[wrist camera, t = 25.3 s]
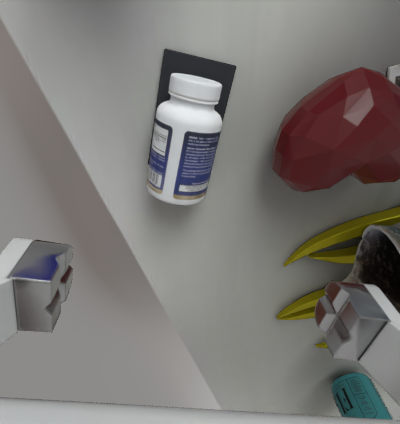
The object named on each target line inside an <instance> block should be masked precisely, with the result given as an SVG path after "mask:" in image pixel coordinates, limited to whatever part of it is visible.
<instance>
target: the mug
mask: <svg viewBox="0 0 400 424" xmlns="http://www.w3.org/2000/svg"><path fill="white" fill-rule="evenodd" d="M342 282H350V283H357V284H360V283H361V284H370V285H375V286H377V287H378V288H380V290H381V291H382V292H383V294H384V295H385V296H386V297H387V299H388V300H389V301H390V302H391V304H392V305H393V306H394V307H395V309H396V310H397V311H398V313H399V314H400V223H396V224H394V225H392V226H385V225H376V224H372V225H369V226H368V227H367V228H366V229H365V231H364V232H363V234H362V240H361V241H360V244H359V246H358V249H357V253H356V257H355V263H354V267H353V269H352V272H351V273H350V274H349V275H348V277H347V278H346V279H345V280H343V281H342Z"/></svg>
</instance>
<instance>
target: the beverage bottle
mask: <svg viewBox="0 0 400 424" xmlns="http://www.w3.org/2000/svg"><path fill="white" fill-rule="evenodd" d="M373 384H374V383H372V382H371V379H369V378H368V377H367V376H366V375H365V374H362V373H350V374H346V375H343V376H341V377H339V378H338V379H336V380H335V381H334V382H333V384H332V386H331V389H332V393H333V396H334V400H335V401H336V402H335V403H336V404H337V407H338V408H339V410H340V411H339V412H341V414H342V416H341V417H353V418H370V419H388V420H394V419H393V418H392V417H391V416H392V415H391V416H390V414H389V413H390V411H389V412H388V410H387V407H385V405H384V404H385V403H383V401H382V400H383V399H381V398H380V397H381V395H379V394H378V393H379V392H377V391H378V390H377V388H376V389H375V387H374V385H373ZM376 390H377V391H376ZM341 414H340V415H341Z"/></svg>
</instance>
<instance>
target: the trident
mask: <svg viewBox="0 0 400 424" xmlns="http://www.w3.org/2000/svg"><path fill="white" fill-rule="evenodd" d="M396 223H400V206H399V207H395V208H392V209H388V210H385V211H381V212H377V213H374V214H370V215H367V216H363V217H360V218H357V219H354V220H351V221H348V222H346V223H343V224H341V225H338V226H336V227H334V228H331V229H329V230H327V231H325V232H323V233H321V234H319V235H317V236H315V237H314V238H312V239H310V240H309V241H307V242H306V243H304V244H303V245H302V246H301V247H300V248H298V249H297V250H296V251H295V252H294V253H293V254H292V255H291V256H290V257H289V258H288V259H287V261H286V262H285V263H284V267H285V266H287V265H288V264H290V263H292V262H294V261H296V260H298V259H300V258H302V257H304V256H306V255H308V257H310V258H314V259H319V260H323V261H329V262H335V263H345V264H351V263H355V257H356V253H357V249H358V246H359V245H358V246H354V247H349V248H344V249H339V250H333V251H326V252H317V253H313V252H315V251H318V250H320V249H323V248H326V247H329V246H331V245H334V244H337V243H340V242H344V241H347V240H350V239H353V238H357V237H360V236H362V234H363V232H364V231H365V229H366V228H367V227H368V226H369V225H372V224H376V225H385V226H392V225H394V224H396ZM324 295H326V293H325V289H322V290H319V291H316V292H313V293H311V294H308V295H306V296H304V297H302V298H300V299H298V300H297V301H295V302H294V303H292V304H291V305H289V306H288V307H286V308H285V309H284V310H282V311H281V312H280V313H279V314H278V315H277V319H280V320H299V319H309V318H314V317H315V306H316V304H317V302H318V300H319V298H321V297H322V296H324ZM315 345H316V347H320V348H328V346H327V344H326V342H324V343H320V344H315Z"/></svg>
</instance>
